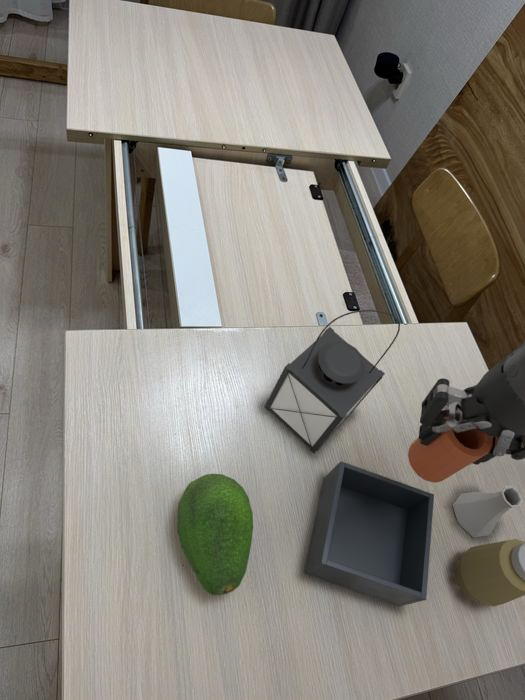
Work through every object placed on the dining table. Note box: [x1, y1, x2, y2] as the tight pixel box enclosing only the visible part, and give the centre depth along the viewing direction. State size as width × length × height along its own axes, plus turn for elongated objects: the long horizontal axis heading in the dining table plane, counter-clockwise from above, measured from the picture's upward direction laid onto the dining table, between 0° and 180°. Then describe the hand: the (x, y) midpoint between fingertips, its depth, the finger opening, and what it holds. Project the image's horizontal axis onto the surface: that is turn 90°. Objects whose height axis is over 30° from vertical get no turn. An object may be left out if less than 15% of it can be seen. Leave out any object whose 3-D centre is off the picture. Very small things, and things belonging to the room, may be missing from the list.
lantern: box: [264, 309, 401, 454], centre depth 74 cm, size 11×11×28 cm
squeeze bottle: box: [454, 538, 525, 607], centre depth 68 cm, size 8×8×18 cm
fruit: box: [176, 473, 254, 596], centre depth 66 cm, size 15×10×10 cm, turn 6°
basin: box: [303, 460, 435, 607], centre depth 72 cm, size 14×14×8 cm
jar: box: [407, 415, 493, 483], centre depth 61 cm, size 6×6×9 cm
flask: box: [452, 485, 524, 538], centre depth 77 cm, size 7×7×10 cm
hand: (448, 447), depth 61 cm, fingers closed on jar, 6 cm apart
